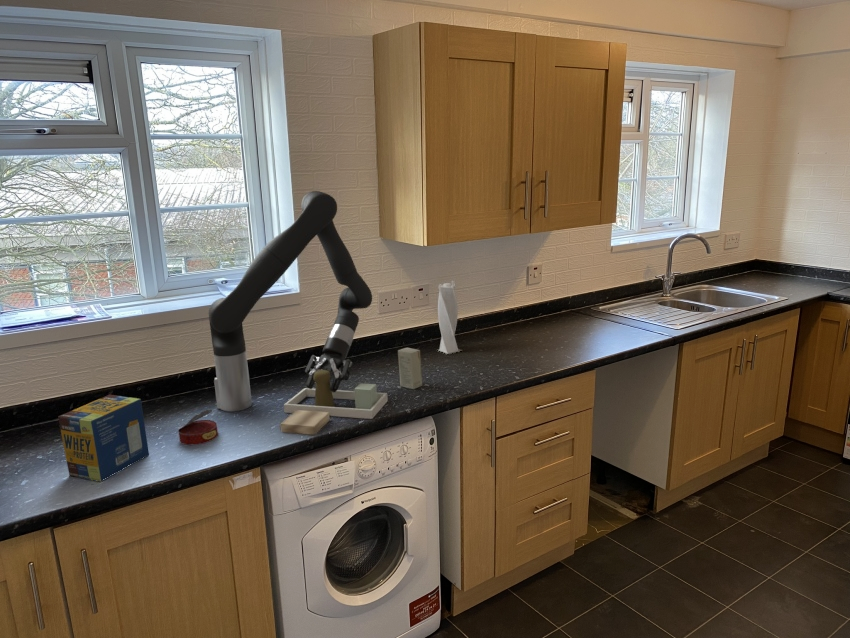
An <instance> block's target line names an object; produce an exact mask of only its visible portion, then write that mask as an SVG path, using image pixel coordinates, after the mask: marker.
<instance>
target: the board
mask: <svg viewBox="0 0 850 638" xmlns="http://www.w3.org/2000/svg"><path fill="white" fill-rule="evenodd" d="M330 418H331V417H330V416H329V412H318V411H304V410H296V411H295V412H294V413H290V415H289V416H288V417H286V418H285V419H284V420H283V421H282V422H281V423H280V425H279V426H280V433H288V434H290V433H291V434H303V435H313V436H315V435H316V434H317V433H318V432H319V431H320V430H321V429H322V428H323V427H325V426H326V424H328V422H330V420H331V419H330Z"/></svg>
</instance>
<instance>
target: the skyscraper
mask: <svg viewBox="0 0 850 638" xmlns="http://www.w3.org/2000/svg"><path fill="white" fill-rule="evenodd" d="M455 287H456V281H455V279H452V280H451V282H445V283H443V284H442V283H439V284H438V290H439V292H438V299H437V300H438V301H437V318H438V324H439V330H440V334H441V337H440V344H439V349H437V350H438V351H437V352H439V351H440V352H439V353H441V352H443V353H442V354H444V353H445V354H444V355H447V354H449V355H453V354H456V352H458V353H461V352H460V351H462V352H463V349H460V348H458V344H457V340H456V337H455V334H456V328H457V324H458V317H459V316H458V312H459V311H458V301H457V297H456V292H455ZM452 353H453V354H452Z"/></svg>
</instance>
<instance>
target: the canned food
mask: <svg viewBox="0 0 850 638" xmlns="http://www.w3.org/2000/svg"><path fill="white" fill-rule="evenodd" d="M212 412H213V410H211V409H206V410H203V411H201V412H200V413H198V414H195V415H194V416H193V417H192V418H191V419H190V420H189V421H188V422H187V423H185V424H183V425H181V426H180V427H179V428H178V429H177V430H178V431H177V432H178V438H179V442H180V443H182V445H183V444H184V445H189V446H193V445H201V444H206V443H209V442H212V441H213V440H214V439H216V438H217V437H218V434H219V431H218V423H217V422H216V421H214V420H211V419H209V420H208V419H201V418H203V417H205V416H207V415H209V414H211V413H212ZM199 419H201V420H199Z"/></svg>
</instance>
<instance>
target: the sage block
mask: <svg viewBox="0 0 850 638" xmlns="http://www.w3.org/2000/svg"><path fill="white" fill-rule="evenodd" d="M353 391H354V392H355V400H354V404H355V405H354V406H355V407H354V408H355V409H369V410H370V409H371V408H372V407H373V406H374V405H375V404H376V403H377V393H378V391H377V384H376V383H365V382H364V383H362V382H361V383H359V384H358V385H357V386H356V387H355V388H354V390H353Z"/></svg>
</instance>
